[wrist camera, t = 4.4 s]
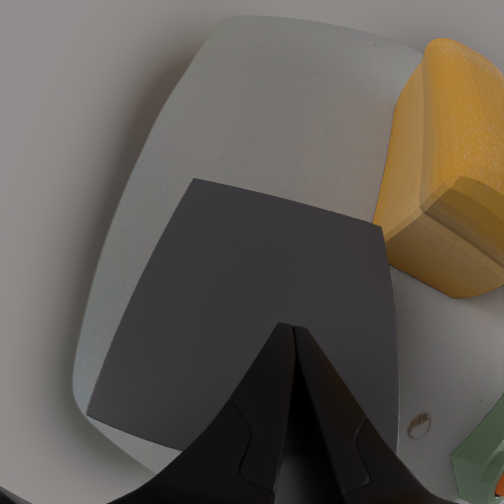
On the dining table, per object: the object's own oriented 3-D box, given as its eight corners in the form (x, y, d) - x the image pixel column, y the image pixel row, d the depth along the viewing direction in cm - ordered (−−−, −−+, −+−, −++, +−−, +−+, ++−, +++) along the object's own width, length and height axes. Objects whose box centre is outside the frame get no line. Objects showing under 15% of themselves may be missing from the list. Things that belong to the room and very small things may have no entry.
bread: (393, 99, 32) (439, 19, 17) (464, 145, 31) (521, 83, 17) (360, 252, 24) (478, 152, 10) (460, 304, 23) (577, 261, 9)
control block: (451, 505, 15) (487, 521, 9) (441, 463, 18) (485, 479, 11) (511, 438, 18) (547, 442, 11) (504, 392, 20) (546, 391, 13)
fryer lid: (385, 469, 8) (396, 468, 7) (92, 417, 8) (84, 414, 7) (376, 234, 17) (382, 226, 16) (192, 188, 17) (193, 177, 16)
